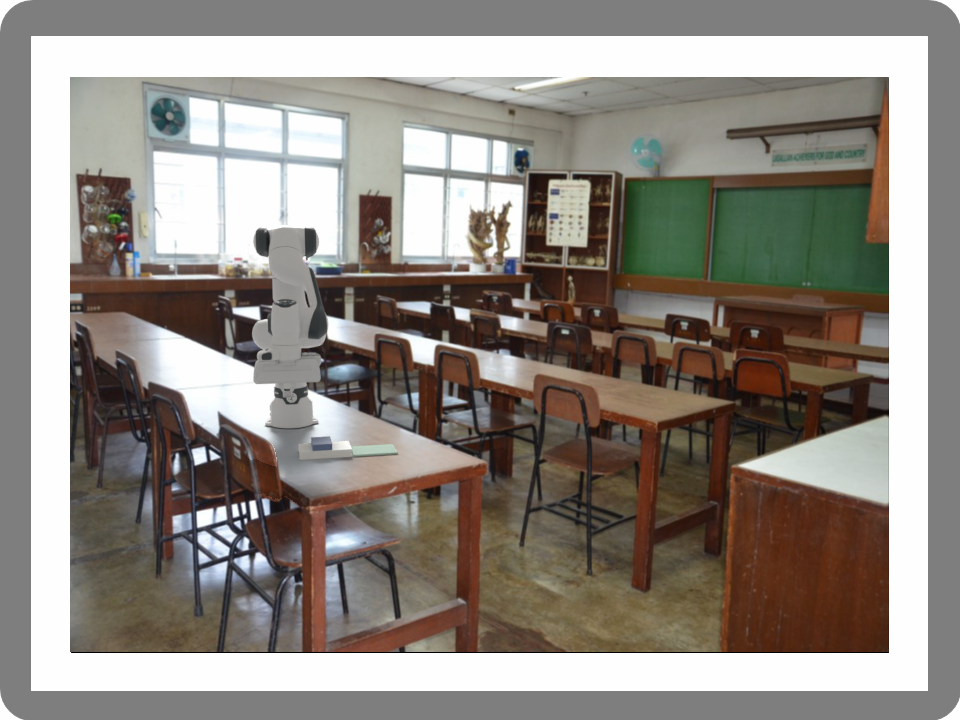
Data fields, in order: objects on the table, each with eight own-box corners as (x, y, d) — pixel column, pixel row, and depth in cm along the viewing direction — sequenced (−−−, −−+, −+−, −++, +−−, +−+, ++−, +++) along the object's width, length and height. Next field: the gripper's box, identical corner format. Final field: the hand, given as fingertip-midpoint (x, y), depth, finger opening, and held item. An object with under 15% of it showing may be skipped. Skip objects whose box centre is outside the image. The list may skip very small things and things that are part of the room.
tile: (311, 443, 252) (311, 437, 252) (330, 442, 254) (330, 436, 254) (312, 451, 244) (312, 444, 244) (332, 449, 245) (332, 443, 245)
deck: (298, 451, 252) (298, 443, 252) (348, 448, 256) (348, 440, 256) (299, 460, 243) (299, 452, 242) (351, 456, 247) (351, 449, 246)
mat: (350, 448, 256) (350, 446, 256) (393, 445, 260) (393, 444, 260) (353, 456, 247) (353, 454, 247) (397, 454, 251) (397, 452, 250)
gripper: (320, 350, 247) (321, 393, 249) (252, 352, 242) (254, 396, 244) (321, 353, 241) (322, 397, 243) (252, 355, 236) (253, 400, 238)
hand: (287, 396), depth 244 cm, fingers closed
